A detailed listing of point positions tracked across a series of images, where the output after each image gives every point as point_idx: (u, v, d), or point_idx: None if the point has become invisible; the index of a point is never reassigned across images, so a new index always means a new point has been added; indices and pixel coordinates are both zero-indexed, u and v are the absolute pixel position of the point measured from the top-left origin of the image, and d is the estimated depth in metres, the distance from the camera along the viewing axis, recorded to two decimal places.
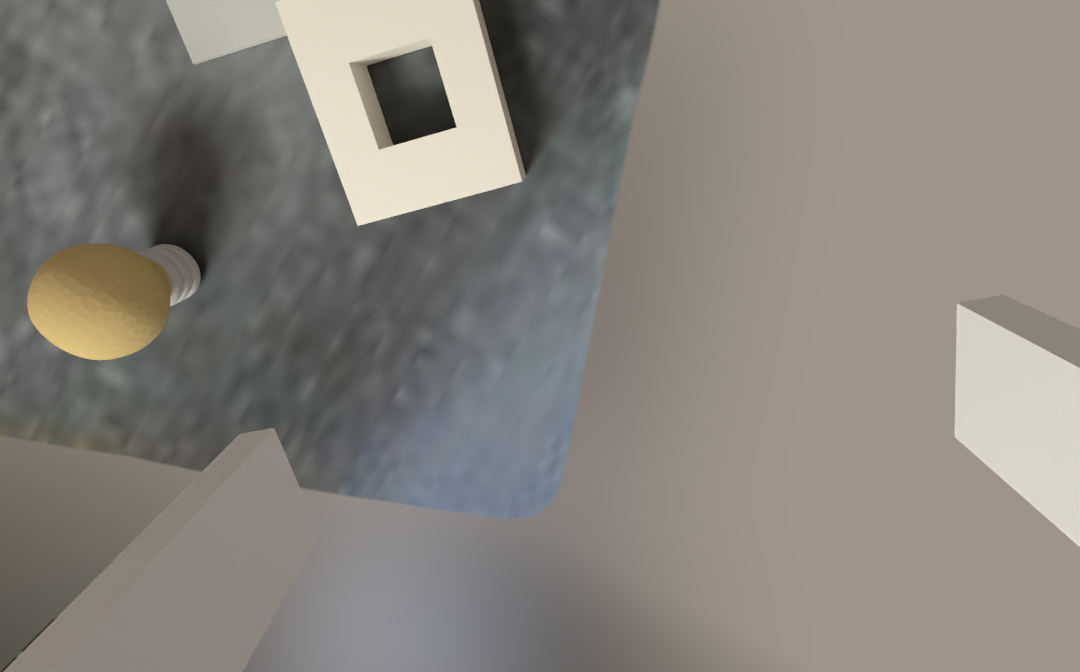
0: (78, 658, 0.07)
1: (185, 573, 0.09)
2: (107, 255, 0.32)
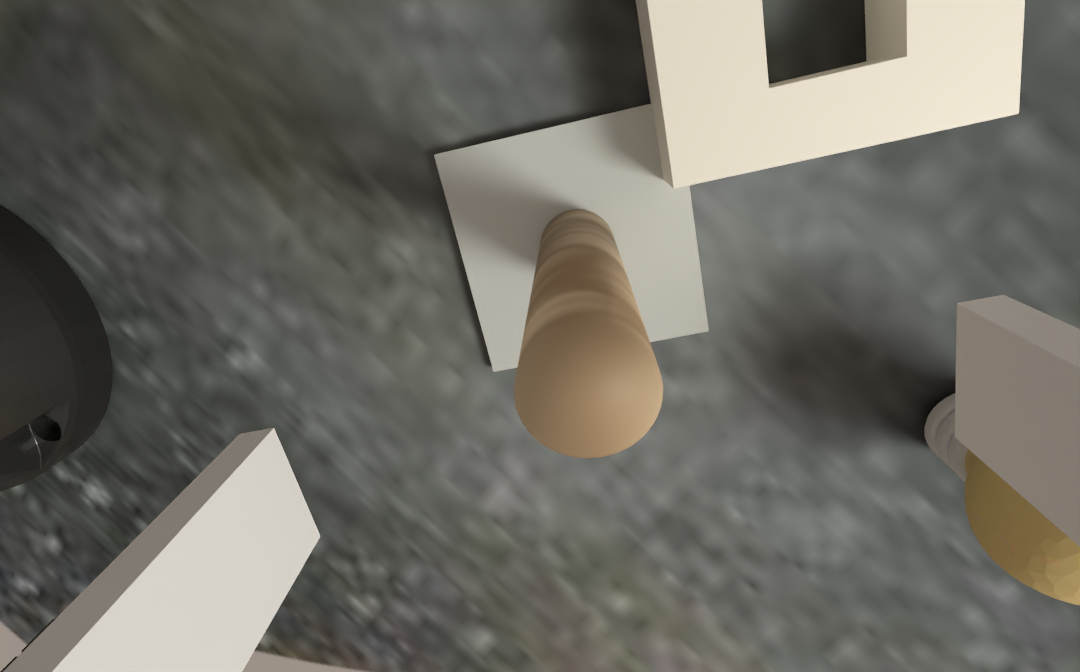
0: (78, 658, 0.07)
1: (186, 573, 0.09)
2: None
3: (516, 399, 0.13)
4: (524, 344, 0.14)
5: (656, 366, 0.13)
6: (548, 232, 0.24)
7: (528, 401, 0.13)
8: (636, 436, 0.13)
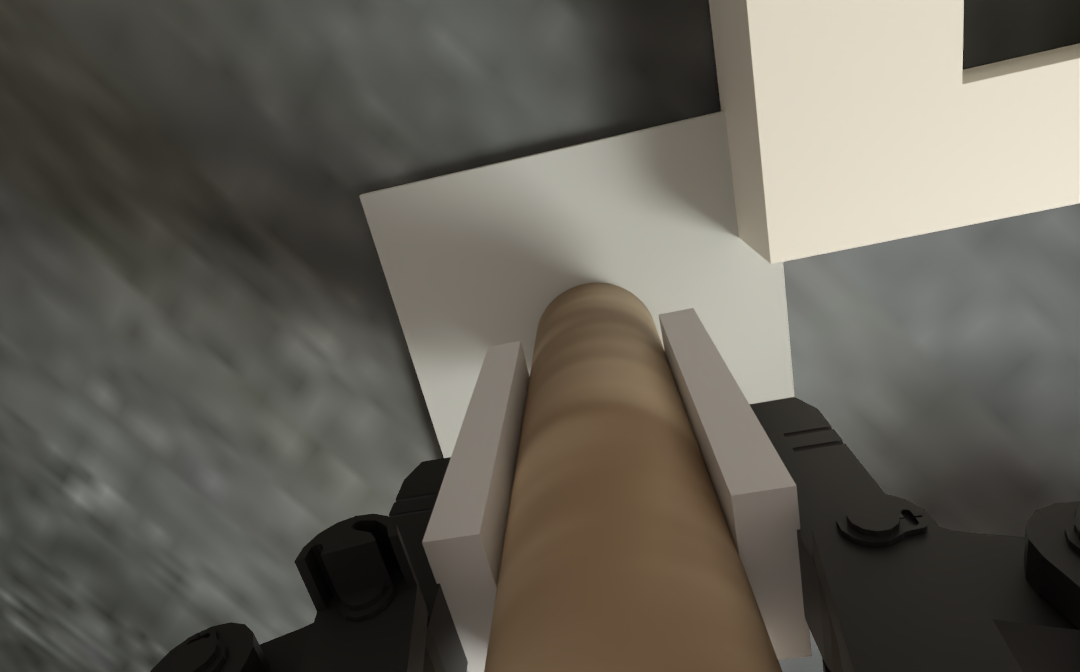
0: (493, 484, 0.09)
1: (513, 442, 0.11)
2: None
3: None
4: None
5: None
6: (548, 331, 0.14)
7: None
8: None
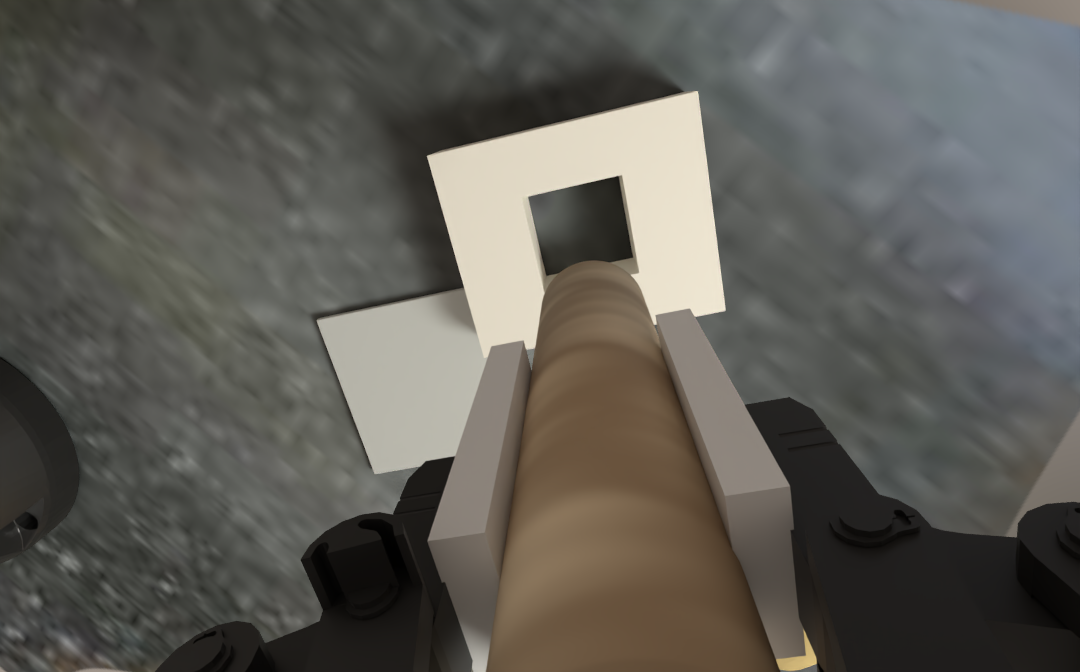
0: (498, 483, 0.09)
1: (517, 441, 0.11)
2: None
3: None
4: (499, 630, 0.07)
5: None
6: (552, 299, 0.16)
7: None
8: None
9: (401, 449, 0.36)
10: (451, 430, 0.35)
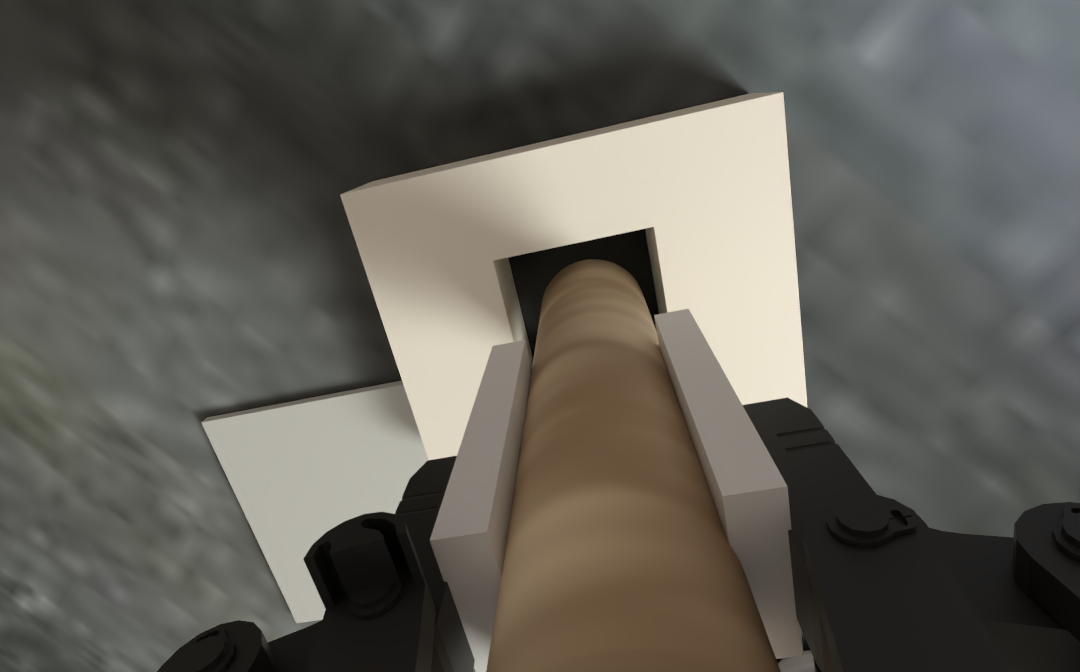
0: (499, 483, 0.09)
1: (518, 440, 0.11)
2: None
3: None
4: (500, 622, 0.07)
5: None
6: (552, 297, 0.17)
7: None
8: None
9: None
10: None
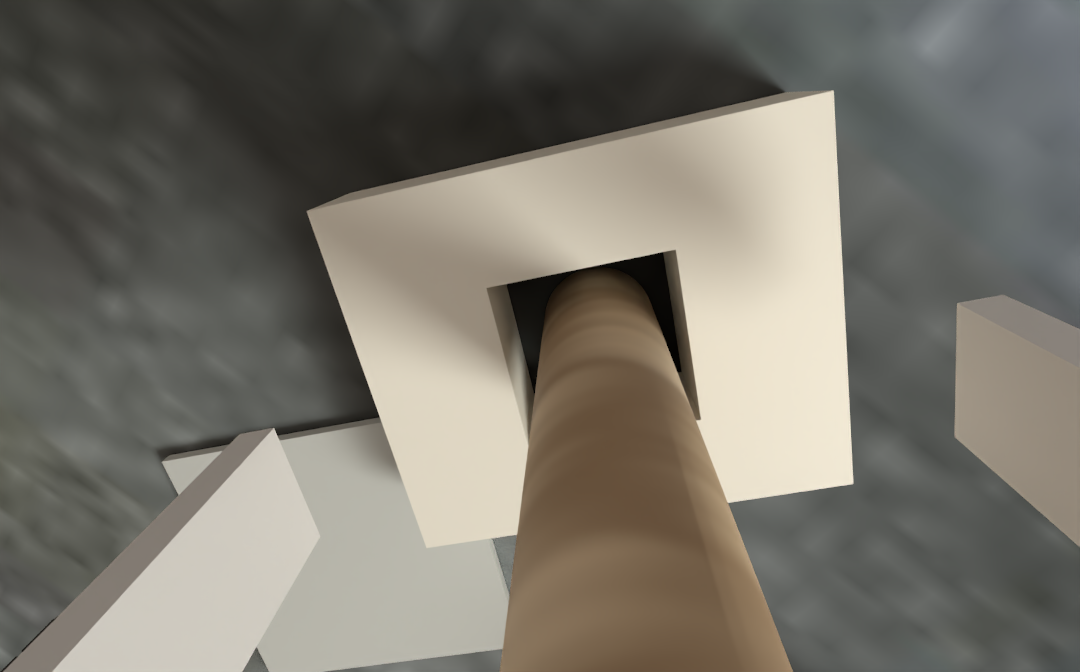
0: (78, 658, 0.07)
1: (186, 572, 0.09)
2: None
3: None
4: None
5: None
6: (557, 308, 0.16)
7: None
8: None
9: (310, 645, 0.23)
10: (387, 622, 0.22)
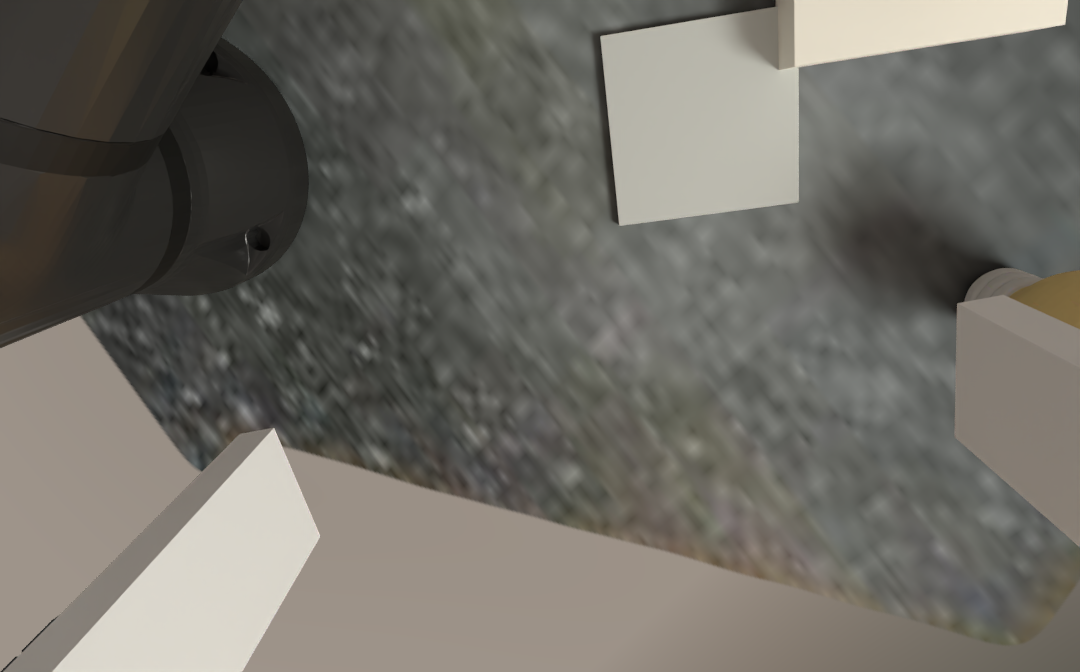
0: (78, 658, 0.07)
1: (185, 573, 0.09)
2: (1044, 305, 0.28)
3: None
4: None
5: None
6: None
7: None
8: None
9: (654, 197, 0.34)
10: (712, 178, 0.34)
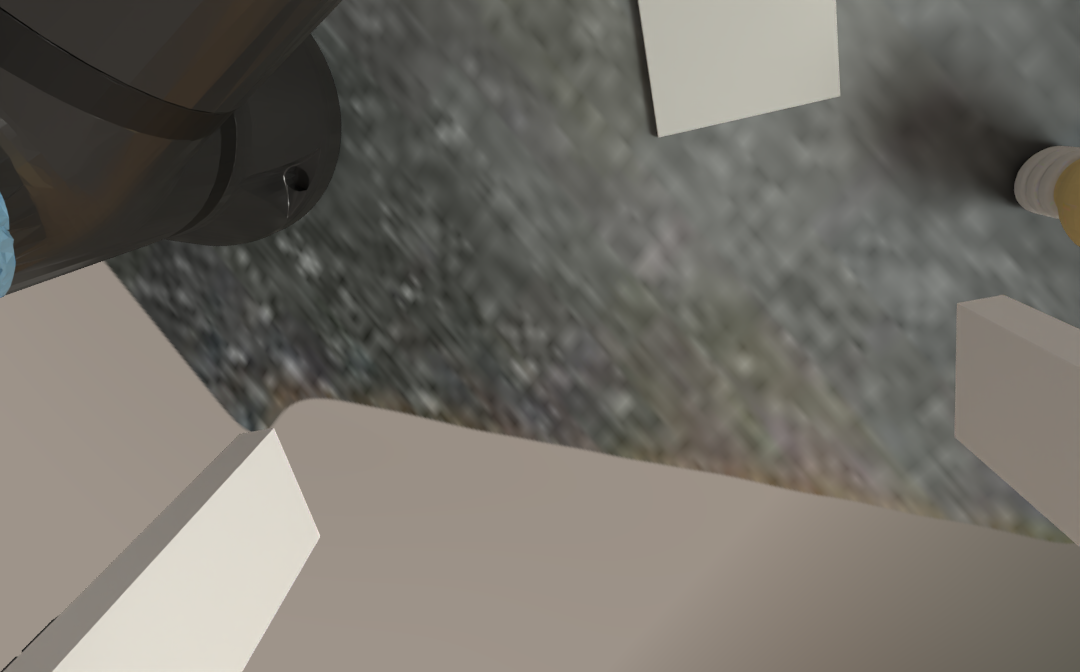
0: (78, 658, 0.07)
1: (185, 573, 0.09)
2: None
3: None
4: None
5: None
6: None
7: None
8: None
9: (692, 104, 0.34)
10: (751, 78, 0.33)
